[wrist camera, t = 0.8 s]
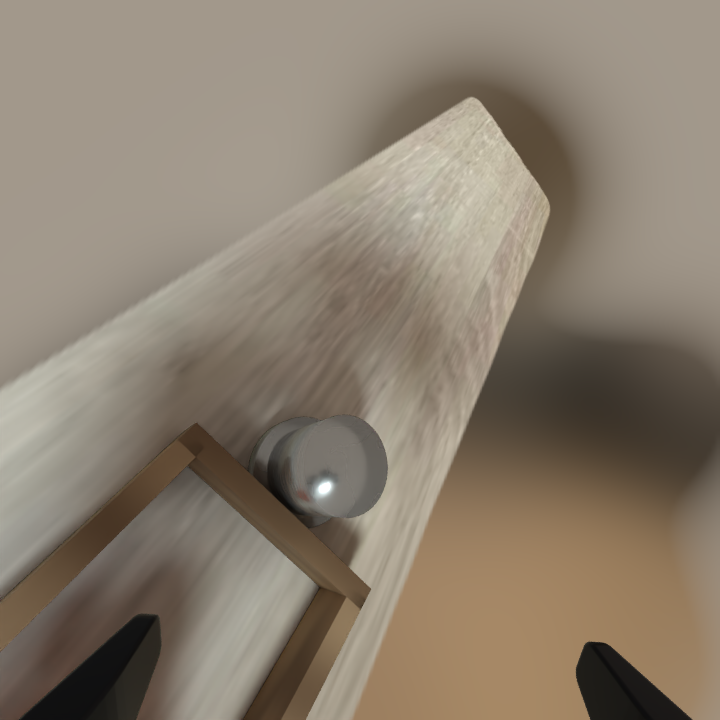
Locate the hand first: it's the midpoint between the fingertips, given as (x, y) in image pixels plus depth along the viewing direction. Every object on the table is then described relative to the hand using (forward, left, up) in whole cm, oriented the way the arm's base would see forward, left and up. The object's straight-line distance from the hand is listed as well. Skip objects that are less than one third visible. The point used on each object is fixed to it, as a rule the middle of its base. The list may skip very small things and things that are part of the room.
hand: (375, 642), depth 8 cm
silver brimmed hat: (+6, 0, -12) cm, 13 cm away
